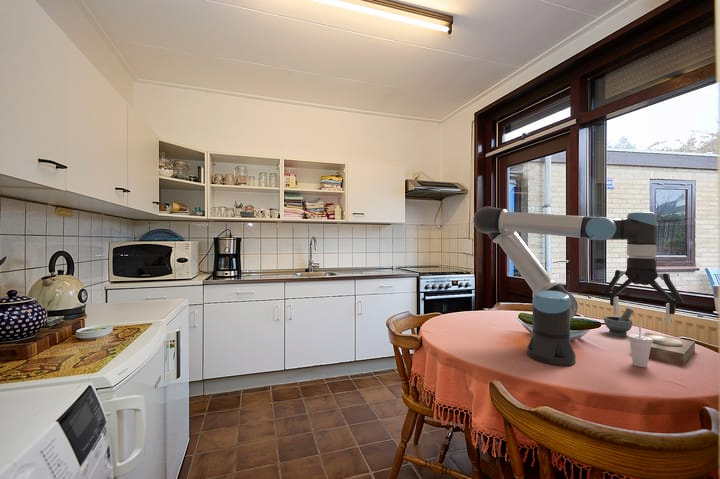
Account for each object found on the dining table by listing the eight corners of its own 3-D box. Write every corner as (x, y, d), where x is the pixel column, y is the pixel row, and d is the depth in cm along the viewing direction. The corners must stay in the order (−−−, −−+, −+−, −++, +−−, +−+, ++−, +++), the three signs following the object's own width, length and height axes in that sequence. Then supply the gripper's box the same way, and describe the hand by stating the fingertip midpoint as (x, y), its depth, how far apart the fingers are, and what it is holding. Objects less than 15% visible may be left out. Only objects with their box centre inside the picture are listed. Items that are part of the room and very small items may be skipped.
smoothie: (650, 364, 109) (650, 323, 108) (654, 370, 103) (655, 328, 103) (626, 360, 112) (626, 320, 112) (629, 366, 107) (629, 325, 106)
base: (631, 353, 119) (631, 340, 119) (646, 341, 132) (646, 330, 132) (683, 365, 107) (684, 350, 107) (694, 351, 120) (694, 338, 120)
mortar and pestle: (613, 337, 138) (614, 309, 138) (599, 330, 147) (599, 305, 147) (641, 337, 137) (641, 310, 137) (624, 331, 146) (625, 305, 146)
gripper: (696, 259, 99) (695, 325, 100) (600, 255, 120) (600, 310, 120) (692, 259, 95) (691, 329, 95) (593, 255, 115) (593, 313, 115)
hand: (640, 319), depth 107 cm, fingers open, 13 cm apart
